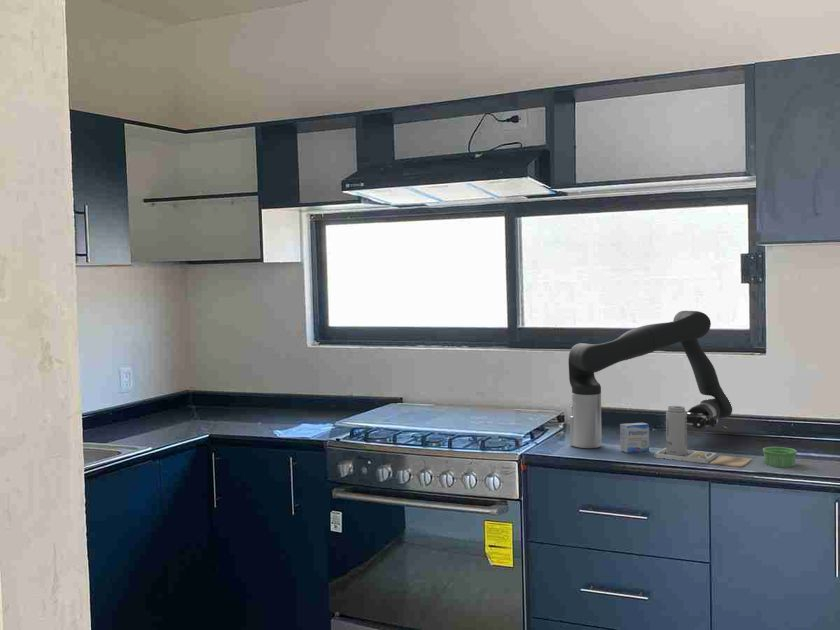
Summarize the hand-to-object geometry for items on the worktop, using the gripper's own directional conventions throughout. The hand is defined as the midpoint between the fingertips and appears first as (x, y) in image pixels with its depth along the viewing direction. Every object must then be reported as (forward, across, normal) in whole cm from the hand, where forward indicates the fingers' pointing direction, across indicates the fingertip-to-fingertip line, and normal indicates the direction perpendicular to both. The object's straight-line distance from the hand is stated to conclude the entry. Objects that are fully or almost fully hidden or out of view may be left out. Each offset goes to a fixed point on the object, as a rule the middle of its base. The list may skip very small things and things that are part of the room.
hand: (687, 423), depth 261 cm
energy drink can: (+11, 0, +9) cm, 14 cm away
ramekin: (+7, +28, +9) cm, 31 cm away
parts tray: (+11, +3, +8) cm, 14 cm away
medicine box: (+10, -14, +9) cm, 19 cm away
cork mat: (+11, +16, +8) cm, 21 cm away
